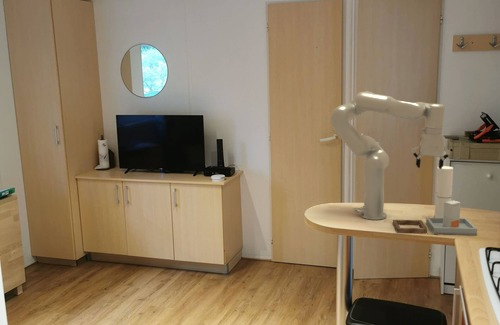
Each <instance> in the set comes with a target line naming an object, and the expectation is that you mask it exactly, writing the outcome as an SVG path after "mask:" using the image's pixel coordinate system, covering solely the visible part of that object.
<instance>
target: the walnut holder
mask: <svg viewBox="0 0 500 325" xmlns="http://www.w3.org/2000/svg"><path fill="white" fill-rule="evenodd" d="M392 225H393V227H394V229H395V232H396V233H397V234H426V233H427V234H428V229H429V228H427V225H425V223H424V222H423V221H422V220H421V219H392ZM401 226H418V227H401Z"/></svg>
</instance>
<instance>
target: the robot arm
mask: <svg viewBox="0 0 500 325" xmlns="http://www.w3.org/2000/svg"><path fill="white" fill-rule="evenodd" d="M367 111H368V112H374V113H378V114H379V113H380V114H382V115H383V114H385V115H387V116H392V117H395V118H400V119H406V120H410V121H411V120H412V121H417V120H421V119H424V120H425V121H424V122H425V123H424V127H421V129H420V131H421V132H423V133H422V134H421V138H420V142H419V145H417V146H415V147H412V148H411V149H410V150H411V153H412V155H413V156H414V157H415V158H416V159H415V160H416V161H415V166H416V167H417V168H418V169H419V168H420V167H421V160H422V159H421V158H422V157H436V158H437V157H439V160H438V167H439V168H440V169H442V167H443V166H444V161H445V160H446V159H448V157H449V155H451V153H452V150H450V149H448V148H446V147H445V136H444V134H443V126H444V116H445V105H444V104H442V103H427V102H424V101H423V102H422V101H417V102H408V101H402V100H398V99H395V98H394V97H393V96H389V95H387V94H386V95H385V94H378V93H374V92H372V91H370V90H366V91H360V92H357V94H356V95H355V97H354V98H353V99H352V100H350V101H349V102H347V103H345V104H344V103H343V104H340V105H338V106H337V107H335V108H334V109H333V111H332V113H331V116H330V124H331V128H332V129H333V130H334V132H335V133H336V134H337V136H338V137H339V138H340V139H341V140H342V142H343V143H344V144H345V145H346V146H347V147H348V148H349V149H350V151H351V152H352V153H353V154H354V155H355V156H356V157H363V156H364V157H365V160H364V162H363V174H364V175H363V176H364V179H363V180H364V182H363V183H364V184H363V185H364V186H363V187H364V192H363V195H364V196H363V205H362V206H361V207H354V208H353V209H354V212H355V213H358V214H359V213H360V217H361V218H363V219H366V220H372V221H377V220H385V219H386V218H387V217H388V216H387V213H386V212H384V210H385V209H384V207H385V206H384V205H385V169H386V168H387V167H388V166H389V164H390V157H389V154H387V152H386V151H385V150H384V149H383V148H382V146H381V145H380V144H379V143H378V142H377V141H376V140H375V139H374V138H373V137H371V136H369V135H366V134H361V133H360V132H359V131H358V130H357V128H356V127H354V126H353V125H352V124H351V123H350V122H349V121H353V120H354V119H355V118H357V117H359V116H361V115H362V114H364V113H365V112H367ZM417 150H418V153H416V151H417ZM444 152H446V153H445V154H444Z"/></svg>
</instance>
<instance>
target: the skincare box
mask: <svg viewBox="0 0 500 325" xmlns="http://www.w3.org/2000/svg"><path fill="white" fill-rule="evenodd" d="M461 204H462V203H461V201H457V200H451V201H448V202H444V214H443V227H450V228H459V218H461V217H460V216H461Z"/></svg>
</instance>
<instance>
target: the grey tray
mask: <svg viewBox="0 0 500 325" xmlns="http://www.w3.org/2000/svg"><path fill="white" fill-rule="evenodd" d="M425 224H426V227H428V229H429V230H430V231H431V233H432V234H433V235H438V234H443V235H446V236H447V235H448V236H452V235H453V236H477V235H478V228H477V227H476V226H475V225H474V224H473V223H472V222H471V221H470V220H469V219H468V218H466V217H460V218H459V228H450V227H443V218H435V217H426V218H425Z"/></svg>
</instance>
